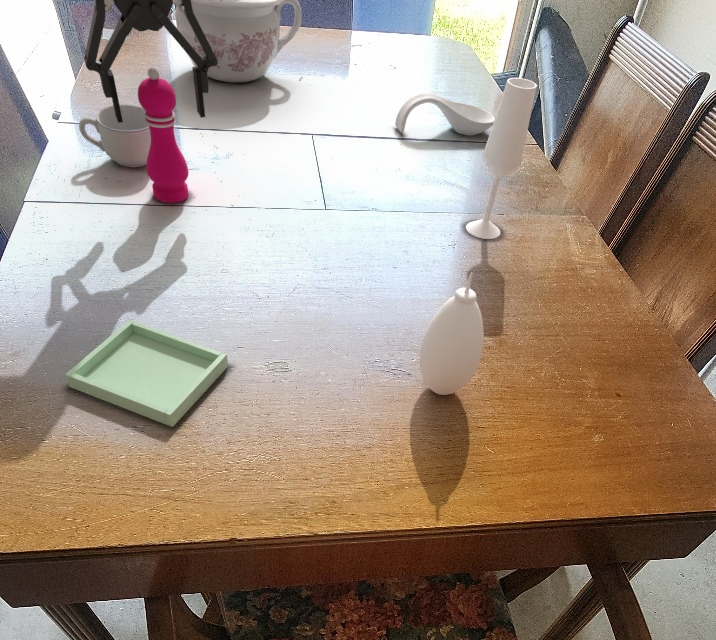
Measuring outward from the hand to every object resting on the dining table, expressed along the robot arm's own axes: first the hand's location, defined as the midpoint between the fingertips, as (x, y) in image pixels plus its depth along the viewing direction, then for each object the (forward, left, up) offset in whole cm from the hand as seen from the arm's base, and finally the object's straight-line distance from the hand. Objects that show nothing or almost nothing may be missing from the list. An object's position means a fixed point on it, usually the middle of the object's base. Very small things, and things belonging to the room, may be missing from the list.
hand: (161, 117), depth 102 cm
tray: (+26, -44, -13) cm, 53 cm away
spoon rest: (+34, +62, -13) cm, 72 cm away
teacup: (-15, +7, -13) cm, 21 cm away
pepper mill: (0, 0, -13) cm, 13 cm away
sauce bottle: (+62, -27, -13) cm, 69 cm away
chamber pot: (-23, +62, -13) cm, 67 cm away
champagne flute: (+55, +21, -13) cm, 60 cm away
